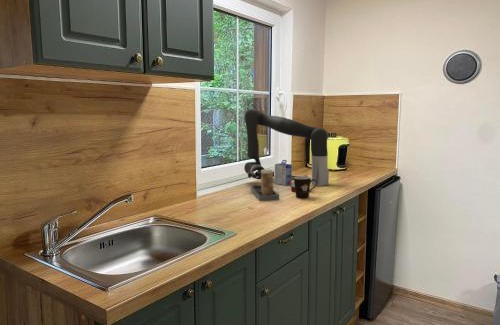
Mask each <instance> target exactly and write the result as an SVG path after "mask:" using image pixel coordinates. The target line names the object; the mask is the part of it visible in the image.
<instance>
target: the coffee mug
mask: <svg viewBox="0 0 500 325" xmlns="http://www.w3.org/2000/svg"><path fill="white" fill-rule="evenodd" d="M307 176H308V175H306V176H305V175H301V176H294V177H293V182H294V184H295V192H294V193H295V198H296V199H302V200H303V199H308V198H310V192H311V191H312V190H314V189H315V188H316V187H318V186H317V180H315V179H313V180H314V181H316V185H313V187H312V188H311V184H312V181H313V180H312V176H308V177H307Z"/></svg>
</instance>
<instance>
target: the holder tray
mask: <svg viewBox="0 0 500 325" xmlns="http://www.w3.org/2000/svg"><path fill="white" fill-rule="evenodd" d="M250 191H251V192H252V193H253V195H254V196H255V198H257V200H258V201H260V202H262V201H265V202H266V201H278V200H280V194H279V193H278V192H277V191H276V190H275V189H273V195H261V185H251V186H250Z"/></svg>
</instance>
